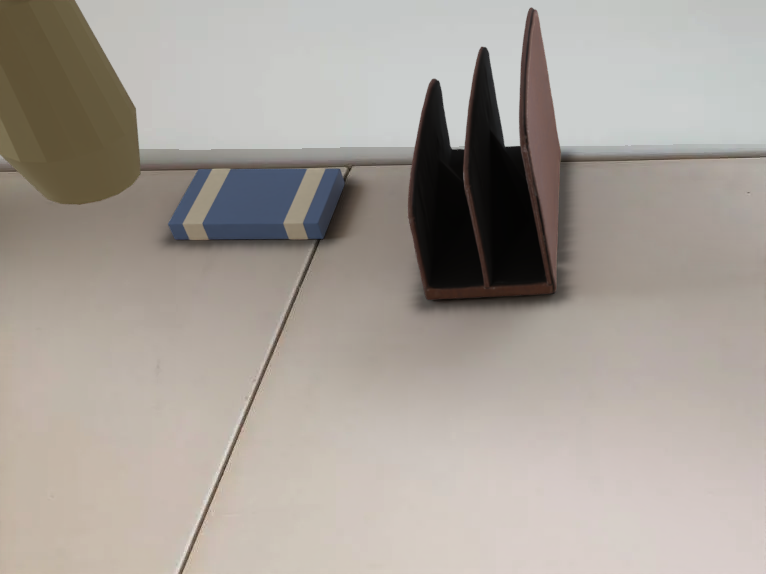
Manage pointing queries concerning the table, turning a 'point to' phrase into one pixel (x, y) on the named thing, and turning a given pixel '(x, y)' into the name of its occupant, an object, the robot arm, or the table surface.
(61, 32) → the squeeze bottle
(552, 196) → the letter holder
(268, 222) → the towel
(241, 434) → the table surface
